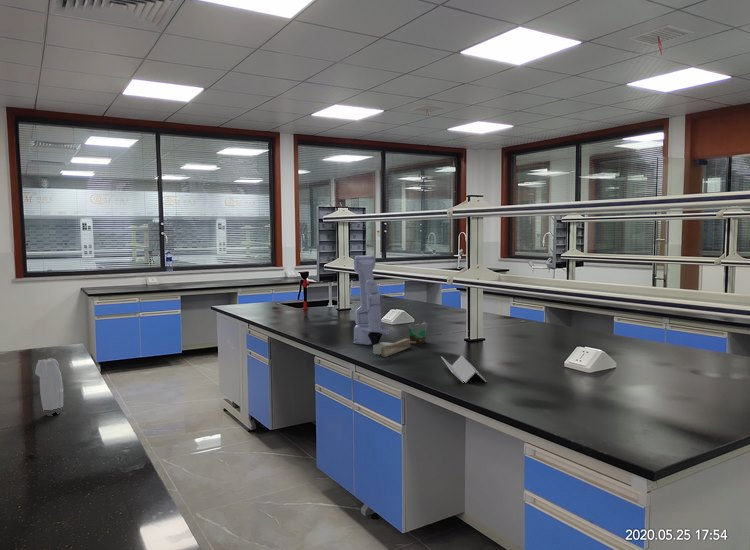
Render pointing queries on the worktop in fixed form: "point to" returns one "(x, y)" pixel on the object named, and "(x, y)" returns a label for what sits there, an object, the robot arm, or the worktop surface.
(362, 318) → the robot arm
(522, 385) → the worktop surface
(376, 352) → the sage block
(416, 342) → the food container
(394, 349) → the birch board
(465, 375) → the z bracket
